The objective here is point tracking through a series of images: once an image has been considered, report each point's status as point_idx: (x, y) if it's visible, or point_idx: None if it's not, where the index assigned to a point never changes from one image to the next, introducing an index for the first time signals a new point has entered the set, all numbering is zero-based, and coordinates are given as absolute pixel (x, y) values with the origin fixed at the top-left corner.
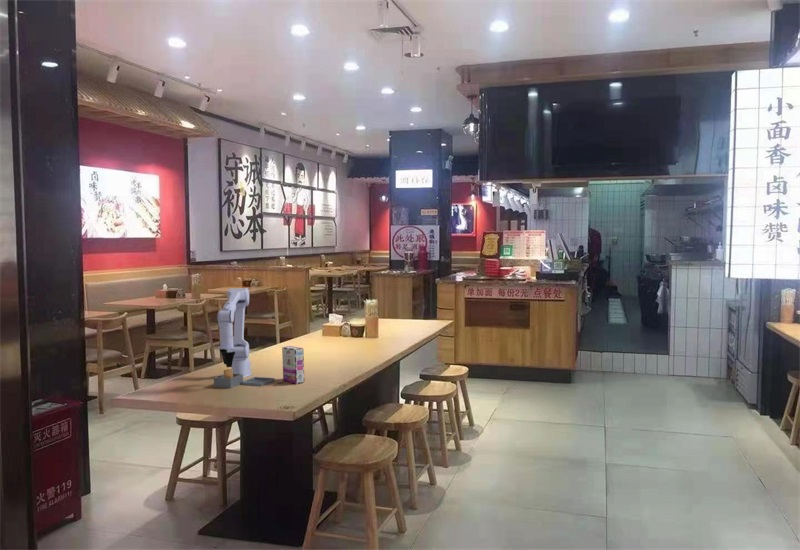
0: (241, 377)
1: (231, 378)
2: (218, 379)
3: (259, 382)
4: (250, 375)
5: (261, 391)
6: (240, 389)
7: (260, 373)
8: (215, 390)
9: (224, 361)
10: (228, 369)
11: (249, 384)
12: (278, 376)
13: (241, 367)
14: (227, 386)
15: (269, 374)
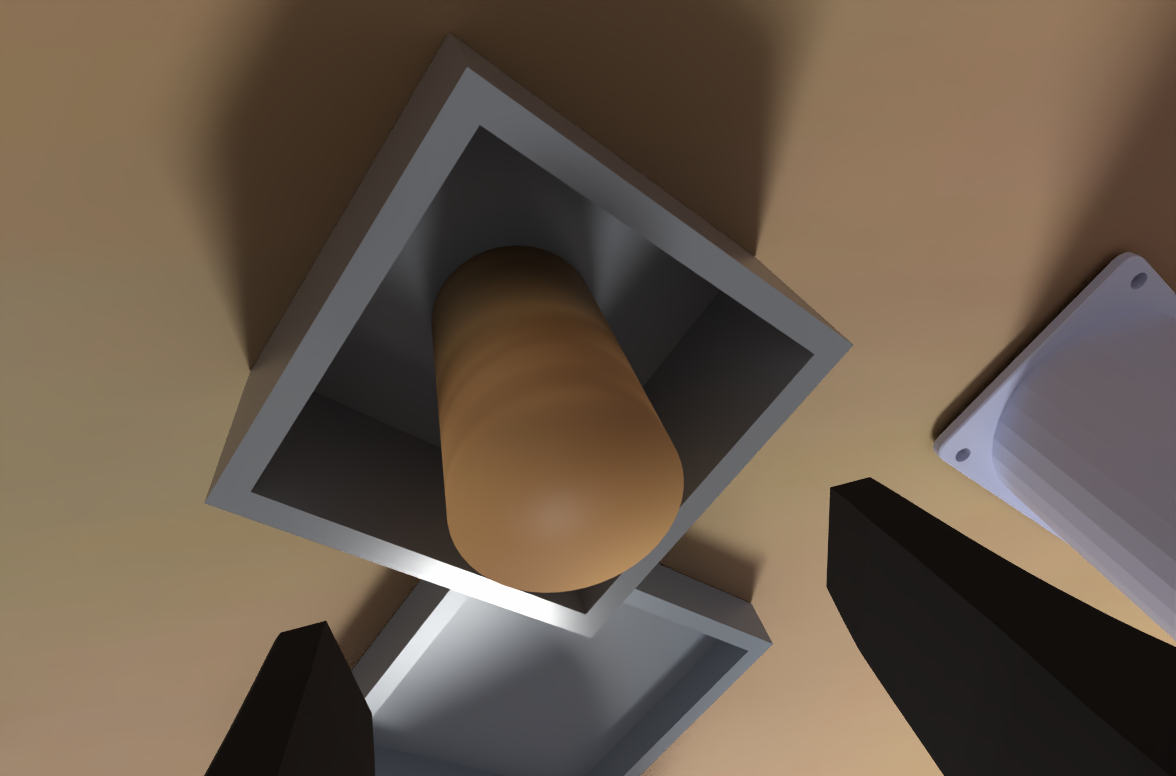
0: None
1: (242, 511)
2: (385, 194)
3: (539, 690)
4: (1048, 528)
5: (36, 766)
6: None
7: (1097, 600)
8: (224, 70)
9: (889, 557)
10: (671, 497)
11: (406, 620)
12: (825, 769)
13: (1108, 556)
14: (276, 336)
15: None
